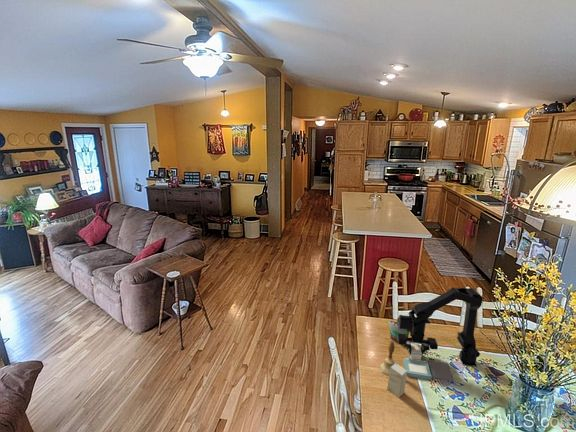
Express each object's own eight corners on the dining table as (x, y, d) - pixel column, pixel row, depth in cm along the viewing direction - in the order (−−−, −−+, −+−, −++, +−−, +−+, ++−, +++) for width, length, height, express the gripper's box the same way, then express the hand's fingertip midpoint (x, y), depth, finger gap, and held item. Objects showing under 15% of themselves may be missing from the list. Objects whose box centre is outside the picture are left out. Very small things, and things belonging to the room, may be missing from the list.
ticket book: (426, 364, 154) (427, 361, 153) (431, 380, 145) (431, 376, 144) (403, 361, 156) (404, 357, 156) (406, 375, 147) (407, 372, 146)
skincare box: (386, 389, 139) (389, 366, 136) (392, 384, 142) (395, 362, 139) (399, 398, 134) (402, 375, 131) (404, 393, 137) (408, 370, 134)
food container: (385, 340, 172) (387, 324, 169) (387, 333, 177) (389, 318, 175) (408, 347, 167) (410, 331, 164) (410, 340, 172) (412, 325, 169)
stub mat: (447, 363, 155) (448, 362, 155) (454, 381, 144) (455, 380, 144) (427, 360, 157) (427, 359, 157) (433, 378, 146) (433, 377, 146)
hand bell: (397, 365, 153) (401, 338, 149) (397, 377, 146) (400, 349, 141) (380, 361, 156) (383, 334, 152) (379, 372, 149) (382, 344, 144)
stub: (418, 353, 162) (419, 344, 161) (420, 362, 155) (421, 353, 154) (408, 351, 163) (410, 343, 162) (411, 361, 156) (412, 352, 155)
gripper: (434, 322, 160) (430, 347, 165) (397, 317, 164) (394, 342, 168) (440, 335, 150) (435, 362, 154) (399, 330, 154) (396, 356, 158)
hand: (414, 355), depth 159 cm, fingers closed on stub, 4 cm apart
